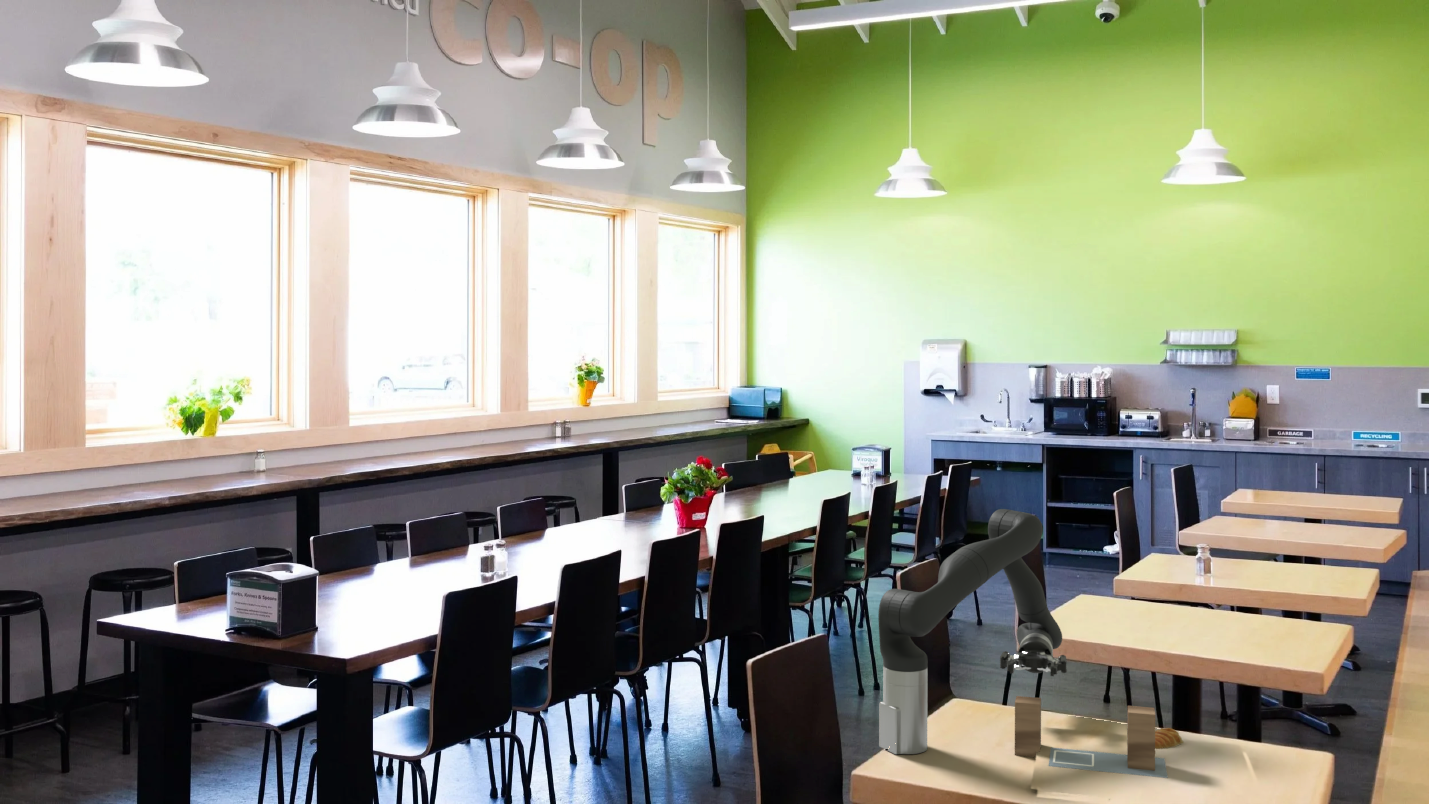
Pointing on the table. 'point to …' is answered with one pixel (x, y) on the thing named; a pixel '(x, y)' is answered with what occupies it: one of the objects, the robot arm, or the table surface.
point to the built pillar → (1141, 738)
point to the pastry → (1167, 738)
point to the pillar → (1027, 726)
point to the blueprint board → (1101, 762)
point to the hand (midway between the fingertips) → (1031, 670)
